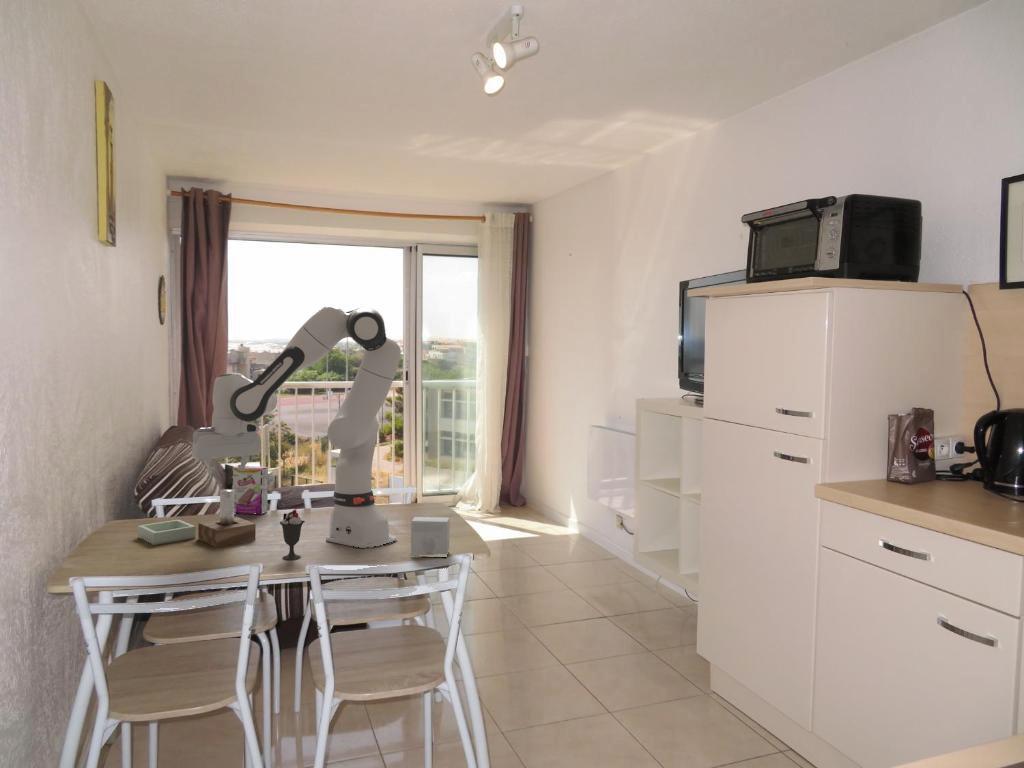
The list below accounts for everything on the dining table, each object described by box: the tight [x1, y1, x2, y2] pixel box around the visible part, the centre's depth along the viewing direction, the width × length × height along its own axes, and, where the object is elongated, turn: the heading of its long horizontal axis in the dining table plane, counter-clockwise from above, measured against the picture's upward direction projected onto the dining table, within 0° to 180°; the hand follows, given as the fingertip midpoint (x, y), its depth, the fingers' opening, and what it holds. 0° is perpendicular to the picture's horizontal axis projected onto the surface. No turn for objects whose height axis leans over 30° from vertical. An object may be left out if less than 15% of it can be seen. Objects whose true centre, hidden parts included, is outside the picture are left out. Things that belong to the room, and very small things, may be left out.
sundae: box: [279, 504, 305, 561], centre depth 196 cm, size 7×7×15 cm
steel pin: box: [219, 488, 235, 526], centre depth 213 cm, size 4×4×15 cm
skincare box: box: [410, 516, 451, 557], centre depth 203 cm, size 10×6×10 cm, turn 89°
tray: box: [137, 519, 197, 546], centre depth 214 cm, size 12×12×4 cm
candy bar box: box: [231, 465, 269, 515], centre depth 248 cm, size 11×5×16 cm, turn 84°
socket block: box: [197, 516, 257, 548], centre depth 213 cm, size 12×12×5 cm
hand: (226, 472), depth 213 cm, fingers open, 8 cm apart
